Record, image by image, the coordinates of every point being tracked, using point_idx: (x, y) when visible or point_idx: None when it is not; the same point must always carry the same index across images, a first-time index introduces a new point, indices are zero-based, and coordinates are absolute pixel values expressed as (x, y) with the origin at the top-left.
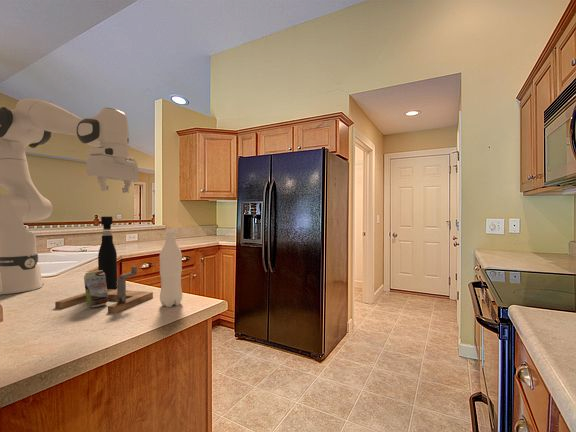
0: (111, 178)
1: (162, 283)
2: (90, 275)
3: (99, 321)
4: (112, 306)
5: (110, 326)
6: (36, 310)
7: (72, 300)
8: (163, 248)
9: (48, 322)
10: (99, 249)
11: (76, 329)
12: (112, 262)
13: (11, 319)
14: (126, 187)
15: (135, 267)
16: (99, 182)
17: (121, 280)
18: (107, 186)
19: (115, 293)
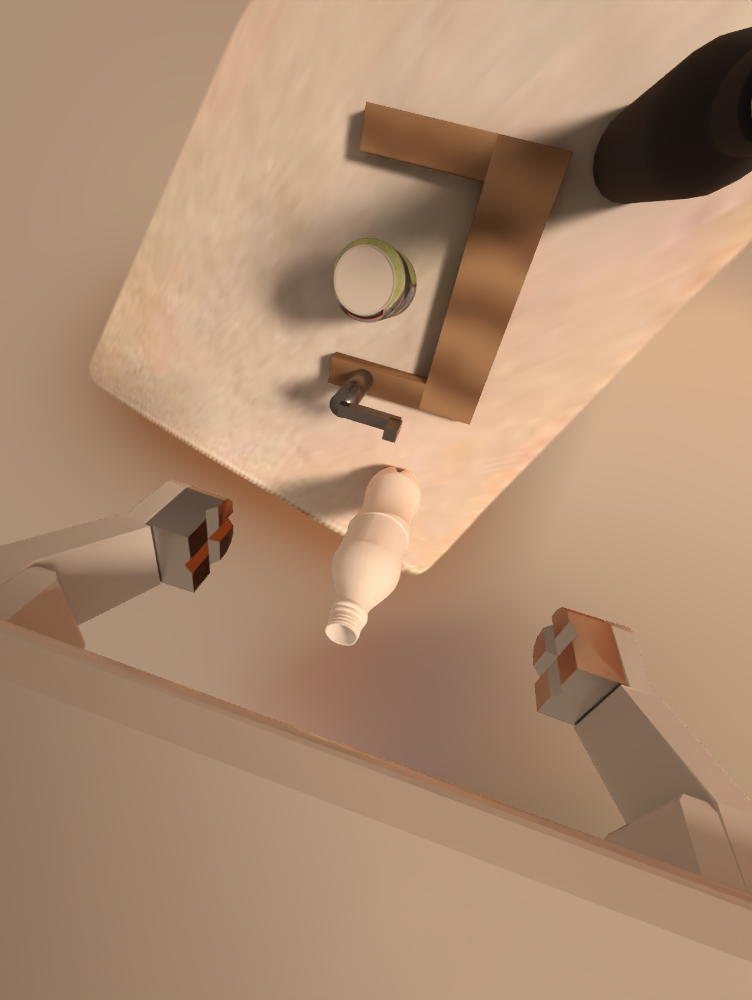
0: (283, 751)
1: (364, 503)
2: (333, 288)
3: (281, 367)
4: (330, 371)
5: (261, 408)
6: (342, 37)
7: (399, 159)
8: (337, 573)
9: (254, 227)
10: (710, 52)
11: (235, 344)
12: (647, 192)
13: (252, 37)
14: (594, 725)
15: (389, 439)
16: (48, 549)
17: (333, 409)
18: (182, 582)
19: (467, 298)
